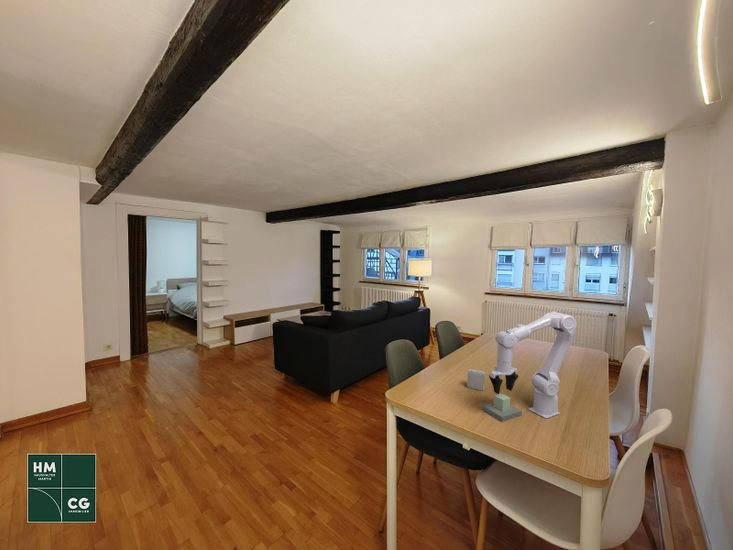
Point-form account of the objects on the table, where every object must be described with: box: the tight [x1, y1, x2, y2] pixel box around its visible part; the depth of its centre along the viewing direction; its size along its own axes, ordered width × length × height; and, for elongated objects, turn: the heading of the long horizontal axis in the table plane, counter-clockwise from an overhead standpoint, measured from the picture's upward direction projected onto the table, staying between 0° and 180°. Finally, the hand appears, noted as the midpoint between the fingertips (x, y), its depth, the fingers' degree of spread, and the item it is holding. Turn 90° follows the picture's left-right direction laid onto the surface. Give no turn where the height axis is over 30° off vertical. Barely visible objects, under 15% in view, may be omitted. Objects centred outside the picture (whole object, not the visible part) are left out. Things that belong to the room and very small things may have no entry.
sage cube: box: [493, 393, 511, 412], centre depth 122 cm, size 4×4×5 cm
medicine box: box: [466, 368, 486, 392], centre depth 146 cm, size 8×4×9 cm, turn 59°
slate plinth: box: [481, 401, 523, 422], centre depth 123 cm, size 12×10×2 cm
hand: (502, 391), depth 122 cm, fingers open, 7 cm apart
